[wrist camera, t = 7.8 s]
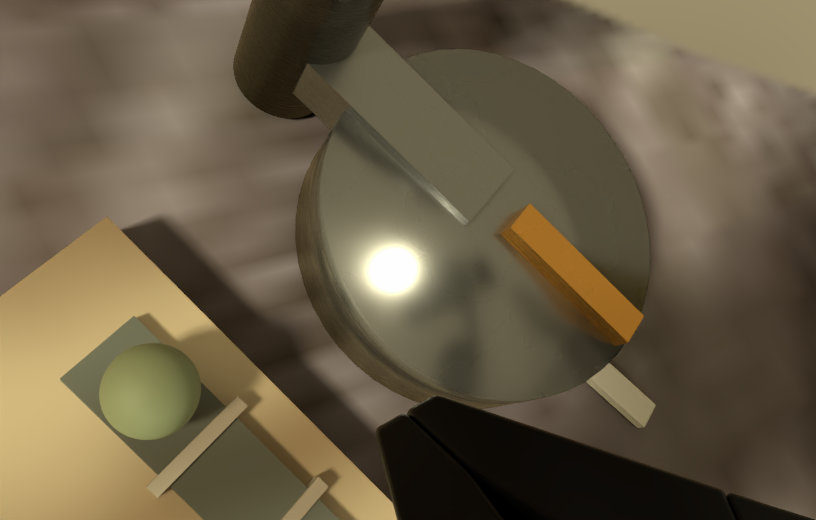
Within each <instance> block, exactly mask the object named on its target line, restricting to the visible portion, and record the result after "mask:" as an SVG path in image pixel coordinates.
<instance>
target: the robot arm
mask: <svg viewBox="0 0 816 520" xmlns="http://www.w3.org/2000/svg"><path fill="white" fill-rule="evenodd" d="M376 439H377V443H378V447H379V451H380V454H381V458H382V462H383V466H384V470H385V474H386V478H387V482H388V486H389V490H390V494H391V498H392V502H393V506H394V510H395V514H396V517H397V520H815V519H811V518H808V517H805V516H802V515H798V514H795V513H792V512H789V511H786V510H782V509H779V508H776V507H773V506H769V505H766V504H763V503H760V502H757V501H754V500H751V499H748V498H745V497H742V496H739V495H736V494H733V493H729V494H728V495H727V497H726V494H725V493H724V491H722V490H721V489H718V488H715V487H712V486H709V485H706V484H703V483H700V482H697V481H694V480H691V479H688V478H685V477H682V476H679V475H676V474H673V473H670V472H667V471H664V470H661V469H658V468H655V467H652V466H649V465H646V464H643V463H640V462H637V461H634V460H631V459H628V458H625V457H622V456H619V455H616V454H613V453H610V452H607V451H604V450H601V449H598V448H595V447H592V446H589V445H586V444H583V443H580V442H577V441H574V440H571V439H568V438H565V437H562V436H559V435H556V434H553V433H550V432H547V431H544V430H541V429H538V428H535V427H532V426H529V425H526V424H523V423H520V422H517V421H514V420H511V419H508V418H505V417H502V416H499V415H496V414H493V413H490V412H487V411H484V410H481V409H478V408H475V407H472V406H469V405H466V404H463V403H460V402H457V401H454V400H451V399H448V398H445V397H442V396H432V397H430V398H429V399H427V400H425V401H423V402H422V403H420V404H418V405H416V406H415V407H413V408H411V409H410V410H409V411H408V413H407V415H404V414H401V415H399V416H397V417H395V418H394V419H392V420H390V421H388V422H387V423H385V424H383V425H381V426H380V427H378V428H377V430H376Z"/></svg>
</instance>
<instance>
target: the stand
mask: <svg viewBox="0 0 816 520" xmlns="http://www.w3.org/2000/svg"><path fill="white" fill-rule="evenodd" d="M0 520H397V517H396V514H395V510H394V506H393V503H392V502H391V501H390V500H389V499H388V498H387V497H386V496H385V495H384V494H383V493H382V492H381V491H380V490H379V489H378V488H377V487H376V486H375V485H374V484H373V483H372V482H371V481H370V480H369V479H368V478H367V477H366V476H365V475H364V474H363V473H362V472H361V471H360V470H359V469H358V468H357V467H356V466H355V465H354V464H353V463H352V462H351V461H350V460H349V459H348V458H347V457H346V456H345V455H344V454H343V453H342V452H341V451H340V450H339V449H338V448H337V447H336V446H335V445H334V444H333V443H332V442H331V441H330V440H329V439H328V438H327V437H326V436H325V435H324V434H323V433H322V432H321V431H320V430H319V429H318V428H317V427H316V426H315V425H314V424H313V423H312V422H311V421H310V420H309V419H308V418H307V417H306V416H305V415H304V414H303V413H302V412H301V411H300V410H299V409H298V408H297V407H296V406H295V405H294V404H293V403H292V402H291V401H290V400H289V399H288V398H287V397H286V396H285V395H284V394H283V393H282V392H281V391H280V390H279V389H278V388H277V387H276V386H275V385H274V384H273V383H272V382H271V381H270V380H269V379H268V378H267V377H266V376H265V375H264V374H263V373H262V371H261V370H260V369H259V368H258V367H257V366H256V365H255V364H254V363H253V362H252V361H251V360H250V359H249V358H248V357H247V356H246V355H245V354H244V353H243V352H242V351H241V350H240V349H239V348H238V347H237V346H236V345H235V344H234V343H233V342H232V341H231V340H230V339H229V338H228V337H227V336H226V335H225V334H224V333H223V332H222V331H221V330H220V329H219V328H218V327H217V326H216V325H215V324H214V323H213V322H212V321H211V320H210V319H209V318H208V317H207V316H206V315H205V314H204V313H203V312H202V311H201V310H200V309H199V308H198V307H197V306H196V305H195V304H194V303H193V302H192V301H191V300H190V299H189V298H188V297H187V296H186V295H185V294H184V293H183V292H182V291H181V290H180V289H179V288H178V287H177V286H176V285H175V284H174V283H173V282H172V281H171V280H170V279H169V278H168V277H167V276H166V275H165V274H164V273H163V272H162V271H161V270H160V269H159V268H158V267H157V266H156V265H155V264H154V263H153V262H152V261H151V260H150V259H149V258H148V257H147V256H146V255H145V254H144V253H143V252H142V251H141V250H140V249H139V248H138V247H137V246H136V245H135V244H134V243H133V242H132V241H131V240H130V239H129V238H128V237H127V236H126V235H125V234H124V233H123V232H122V231H121V230H120V229H119V228H118V227H117V226H116V225H115V224H114V223H113V222H112V221H111V220H110V219H109V218H108V217H106V218H105V219H103V220H102V221H101V222H99V223H98V224H97V225H95V226H94V227H93V228H91V229H90V230H89V231H87V232H86V233H85V234H83V235H82V236H81V237H79V238H78V239H77V240H75V241H74V242H73V243H71V244H70V245H69V246H67V247H66V248H65V249H63V250H62V251H61V252H59V253H58V254H57V255H55V256H54V257H53V258H51V259H50V260H48V261H47V262H46V263H44V264H43V265H42V266H40V267H39V268H38V269H36V270H35V271H34V272H32V273H31V274H30V275H28V276H27V277H26V278H24V279H23V280H22V281H20V282H19V283H18V284H16V285H15V286H14V287H12V288H11V289H10V290H8V291H7V292H6V293H4V294H3V295H2V296H0Z"/></svg>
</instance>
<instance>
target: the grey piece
mask: <svg viewBox="0 0 816 520" xmlns="http://www.w3.org/2000/svg"><path fill="white" fill-rule="evenodd" d="M382 2H383V0H252V2H251V5H250V8H249V11H248V15H247V18H246V21H245V24H244V28H243V31H242V34H241V37H240V41H239V44H238V47H237V50H236V54H235V57H234V64H233V69H234V76H235V79H236V82H237V84H238V87H239V88H240V90H241V92H242V93H243V94H244V96H245V97H246V98H247V99H248V100H249V101H250V102H251V103H252V104H253V105H254V106H256V107H257V108H259V109H260V110H262V111H264V112H266V113H268V114H271V115H273V116H277V117H282V118H299V117H304V116H307V115H309V114H311V113H314V114H315V115H316V116H317V117H318V118H319V119H320V120H321V121H322V122H323V123H324V124H325V125H326V126H327V127H328V128H329V129H330V130H331V132H330V134H329V135H328V137H327V138H326V140H325V141H324V143H323V144H322V146H321V147H320V149H319V151H318V152H317V154H316V155H315V157H314V158H313V160H312V162H311V165H310V167H309V169H308V171H307V173H306V175H305V178H304V181H303V184H302V188H301V191H300V194H299V199H298V206H297V213H296V248H297V256H298V263H299V267H300V271H301V275H302V278H303V282H304V286H305V288H306V291H307V293H308V296H309V298H310V301H311V303H312V306H313V308H314V310H315V311H316V313H317V315H318V317H319V318H320V320H321V322H322V324H323V326H324V327H325V329H326V330H327V332H328V333H329V334H330V336H331V337H332V338H333V340H334V341H335V343H336V344H337V345H338V347H339V348H340V349H341V350H342V351H343V352H344V353H345V354H346V355H347V356H348V357H349V358H350V359H351V360H352V362H353V363H354V364H355V365H357V366H358V367H359V368H360V369H361V370H363V371H364V372H365V373H366V374H368V375H369V376H370V377H371V378H372V379H374V380H375V381H377V382H379V383H380V384H382V385H383V386H385V387H387V388H388V389H390V390H391V391H393V392H395V393H397V394H400V395H402V396H404V397H406V398H409V399H411V400H413V401H416V402H419V403H422V402H423V401H425V400H427V399H429V398H430V397H432V396H442V397H445V398H448V399H451V400H454V401H457V402H460V403H463V404H466V405H469V406H472V407H475V408H478V409H485V408H492V407H498V406H503V405H508V404H513V403H518V402H524V401H529V400H534V399H539V398H545V397H549V396H552V395H555V394H559V393H562V392H565V391H568V390H570V389H572V388H574V387H576V386H578V385H580V384H582V383H584V382H586V381H587V380H589V379H590V378H591V377H593V376H594V375H595V374H597V373H598V372H599V371H601V370H602V369H603V368H604V367H605V366H606V365H607V364H608V363H609V362H610V361H611V360H612V359H613V358H614V357H615V356H616V355H617V354H618V352H619V351H620V350H621V348H622V347H623V345H624V344H625V343H628V342H629V340H630V339H631V337H632V335H633V334H634V332H635V330H636V329H637V327H638V325H639V324H640V322H641V320H642V319H643V317H644V315H643V314H642V313H641V310H642V307H643V304H644V300H645V296H646V291H647V286H648V281H649V269H650V241H649V233H648V226H647V220H646V215H645V211H644V207H643V203H642V199H641V197H640V194H639V191H638V188H637V185H636V183H635V180H634V178H633V175H632V173H631V171H630V169H629V167H628V165H627V163H626V161H625V159H624V157H623V155H622V154H621V152H620V150H619V149H618V147H617V145H616V144H615V142H614V141H613V139H612V138H611V136H610V135H609V134H608V132H607V131H606V130H605V128H604V127H603V126H602V124H601V123H600V122H599V121H598V120H597V119H596V117H595V116H594V115H593V114H592V113H591V112H590V111H589V110H588V108H587V107H585V106H584V105H583V104H582V103H581V102H580V101H579V100H578V99H577V98H576V97H575V96H574V95H572V94H571V93H570V92H569V91H567V90H566V89H565V88H563V87H562V86H561V85H559V84H558V83H557V82H556V81H554V80H552V79H551V78H549V77H548V76H546V75H544V74H543V73H541V72H539V71H538V70H536V69H534V68H532V67H529V66H527V65H525V64H523V63H521V62H519V61H516V60H513V59H510V58H507V57H504V56H501V55H498V54H494V53H489V52H484V51H479V50H468V49H444V50H435V51H430V52H425V53H420V54H417V55H414V56H411V57H409V58H406V59H402V58H401V57H400V56H399V55H398V54H397V53H396V52H395V51H394V50H393V49H392V48H391V47H390V46H389V45H388V44H387V43H386V42H385V41H384V40H383V39H382V38H381V37H380V36H379V35H378V34H377V33H376V32H375V31H374V30H373V29H372V28H371V27H370V26H369V25H370V23H371V21H372V19H373V18H374V16H375V14H376V13H377V11H378V9H379V7H380V6H381V4H382Z"/></svg>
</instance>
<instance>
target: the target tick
mask: <svg viewBox="0 0 816 520" xmlns="http://www.w3.org/2000/svg"><path fill="white" fill-rule="evenodd" d="M586 382H587V383H588V384H589V385H590V386H591V387H592V388H594V389H595V390H596V391H597V392H598V393H599V394H600V395H601V396H602V397H604V398H605V399H606V400H607V401H608V402H609V403H610V404H611V405H612V406H614V407H615V408H616V409H617V410H618V411H619V412H620V413H621V414H622V415H624V416H625V417H626V418H627V419H628V420H629V421H630V422H631V423H632V424H634V425H635V426H636V427H637V428H644V427H645V426H646V424H647V422H648V420H649V418H650V416H651V414H652V412H653V410H654V408H655V406H656V405H655V404H654V403H653V402H652V401H651V400H650V399H649V398H648V397H647V396H645V395H644V394H643V393H642V392H641V391H640V390H639V389H638V388H637V387H636V386H634V385H633V384H632V383H631V382H630V381H629V380H628V379H627V378H626V377H625V376H623V375H622V374H621V373H620V372H619V371H618V370H617V369H616V368H615V367H614V366H612V365H611V364H610V363H608V364H607V365H606V366H605V367H604V368H603V369H602V370H601V371H599V372H598V373H597V374H595V375H594V376H593V377H591V378H590V379H589V380H587V381H586Z"/></svg>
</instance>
